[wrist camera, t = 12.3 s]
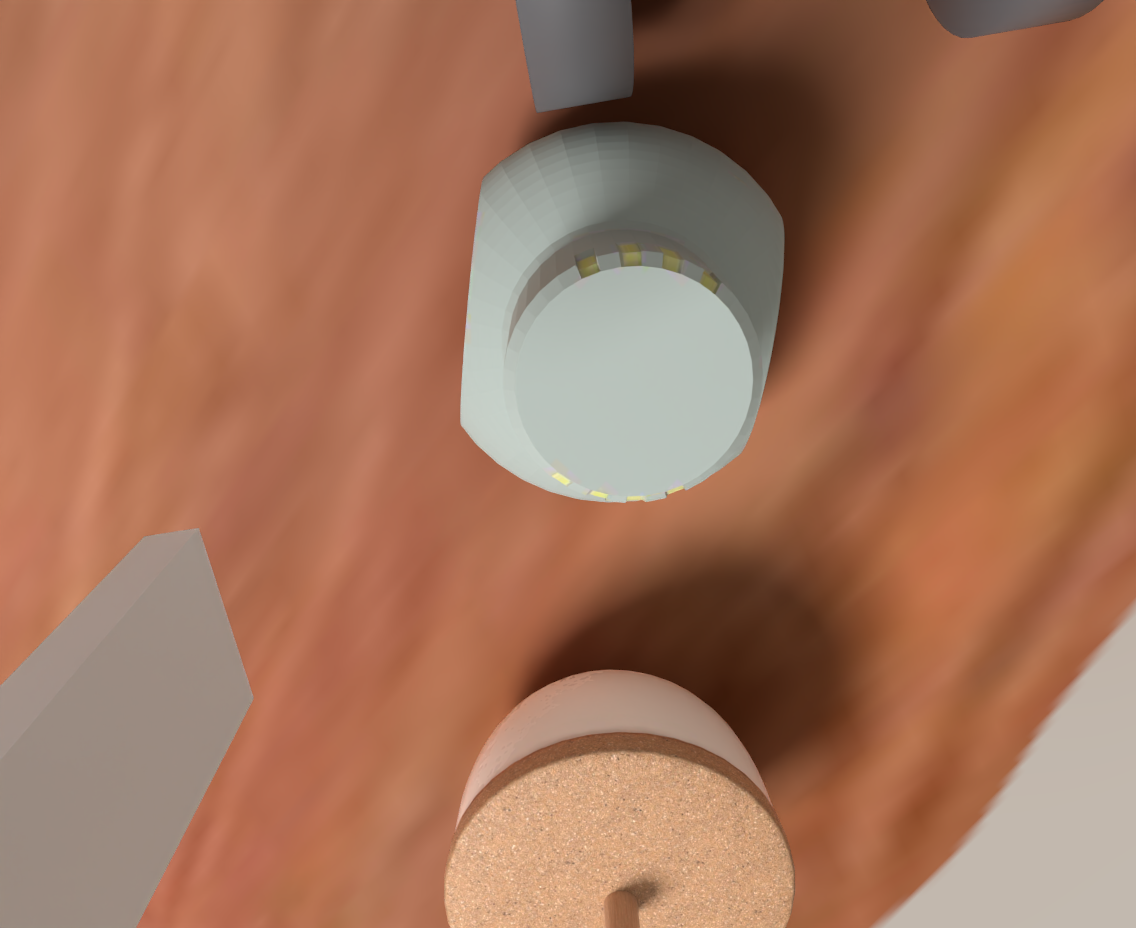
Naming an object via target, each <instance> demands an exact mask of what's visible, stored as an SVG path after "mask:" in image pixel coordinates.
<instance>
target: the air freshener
mask: <svg viewBox="0 0 1136 928" xmlns="http://www.w3.org/2000/svg"><path fill="white" fill-rule="evenodd" d="M783 266H784V225H783V220H782V217H781V215H780V213H779V212H778V210H777V209H776V207H775V205H774V204H773V202H772V201H771V199H770V197H769V196H768V195H767V193H766V192H765V191H764V190H763V189H762V188H761V187H760V186H759V185H758V184H757V182H756V181H755V180H754V179H753V178H752V177H751V176H750V175H749V174H748V172H747V171H746V170H744V169H743V168H742V167H740V166H739V165H738V164H736V163H735V162H734V161H733V160H731V159H730V158H729V157H727V156H726V155H725V154H724V153H722V152H721V151H719V150H717V149H716V148H714V147H712V146H710V145H708V144H706V143H704V142H702V141H700V140H698V139H696V138H694V137H693V136H690V135H687V134H684V133H681V132H677V131H674V130H671V129H668V128H665V127H662V126H657V125H649V124H641V123H633V122H606V123H591V124H586V125H582V126H578V127H573V128H569V129H564V130H560V131H557V132H555V133H553V134H550V135H548V136H546V137H543V138H541V139H538V140H536V141H534V142H531V143H529V144H527V145H526V146H524V147H523V148H521V149H520V150H518V151H516V152H515V153H513V154H512V155H510V156H509V157H507V158H505V159H504V160H502V161H501V162H500V163H499V164H498V165H497V166H495V167H494V168H493V169H492V170H491V171H490V172H489V173H488V174H487V175H486V176H484V178H483V181H482V186H481V191H480V198H479V205H478V213H477V221H476V229H475V238H474V247H473V256H472V265H471V276H470V286H469V296H468V308H467V319H466V331H465V343H464V357H463V371H462V388H461V426H462V427H463V428H464V429H465V431H466V432H467V433H468V434H469V436H470V437H471V438H472V439H473V441H474V442H475V443H476V444H477V445H478V446H479V447H480V448H481V449H482V450H483V451H485V452H486V453H487V454H488V455H489V456H490V457H491V458H492V459H493V460H495V461H496V462H497V463H498V464H499V465H501V466H502V467H504V468H505V469H507V470H509V471H510V472H512V473H513V474H515V475H516V476H518V477H519V478H521V479H522V480H525V481H527V482H529V483H531V484H534V485H536V486H538V487H540V488H543V489H545V490H547V491H550V492H553V493H557V494H561V495H564V496H568V497H572V498H576V499H581V500H590V501H600V502H622V503H626V501H639V500H644V501H646V502H648V501H653V500H658V499H663V498H666V497H667V494H670V493H673V492H675V491H678V490H681V489H685V490H688V489H690V488H691V487H693V486H695V485H697V484H699V483H700V482H702V481H704V480H705V479H707V478H708V477H709V476H710V475H712V474H713V473H715V472H717V471H719V470H720V469H721V468H723V467H724V466H725V465H727V464H728V463H729V462H730V461H732V460H733V459H734V458H736V457H737V456H738V455H739V454H741V452H742V451H743V449H744V447H745V445H746V443H747V441H748V439H749V436H750V434H751V431H752V429H753V426H754V423H755V419H756V416H757V413H758V409H759V406H760V402H761V398H762V394H763V390H764V386H765V382H766V378H767V373H768V368H769V364H770V359H771V354H772V348H773V343H774V337H775V332H776V325H777V319H778V312H779V305H780V297H781V288H782V278H783Z"/></svg>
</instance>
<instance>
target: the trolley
mask: <svg viewBox="0 0 1136 928" xmlns="http://www.w3.org/2000/svg"><path fill="white" fill-rule="evenodd" d="M926 1H927V3H928V5H929V7H930V9H931V11H932V13H933V14H934V16H935V17H936V19H937V20H938V21H939V23H940V24H941V25H942V26H943V27H944V28H945V29H946V30H947V31H949V32H950V33H952V34H953V35H956V36H958V37H961V38H973V37H978V36H984V35H990V34H996V33H1001V32H1007V31H1013V30H1019V29H1025V28H1030V27H1036V26H1042V25H1048V24H1053V23H1059V22H1065V21H1070V20H1073V19H1076V18H1079V17H1081V16H1083V15H1085V14H1086V13H1088V12H1090V11H1091V10H1093V9H1094V8H1095V7H1097V6H1098V5H1099V4H1100V3H1101V2H1102V1H1103V0H926ZM516 5H517V11H518V17H519V23H520V28H521V34H522V40H523V45H524V51H525V56H526V62H527V67H528V73H529V78H530V83H531V88H532V94H533V99H534V103H535V108H536V112H537V113H539V112H545V111H551V110H557V109H563V108H568V107H574V106H580V105H586V104H591V103H597V102H603V101H609V100H615V99H620V98H626V97H631V95H632V92H633V84H634V44H633V23H632V7H631V0H516Z"/></svg>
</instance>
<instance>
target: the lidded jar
mask: <svg viewBox="0 0 1136 928" xmlns="http://www.w3.org/2000/svg"><path fill="white" fill-rule="evenodd" d="M794 895H795V868H794V864H793V859H792V855H791V850H790V846H789V843H788V840H787V837H786V834H785V832H784V829H783V827H782V825H781V823H780V820H779V818H778V816H777V814H776V811H775V809H774V808H773V806H772V803H771V801H770V798H769V796H768V793H767V790H766V788H765V786H764V783H763V781H762V779H761V777H760V774H759V772H758V770H757V768H756V766H755V764H754V762H753V760H752V759H751V757H750V755H749V753H748V752H747V750H746V749H745V747H744V746H743V744H742V743H741V741H740V740H739V738H738V737H737V736H736V734H735V733H734V732H733V730H732V729H731V728H730V726H729V725H728V724H727V723H726V722H725V721H724V720H723V719H722V718H721V717H720V715H719V714H718V713H717V712H716V711H715V710H714V709H713V708H711V707H710V706H709V705H707V704H706V703H705V702H703V701H702V700H701V699H699V698H698V697H696V696H695V695H694V694H692V693H691V692H690V691H688V690H686V689H684V688H682V687H680V686H678V685H677V684H675V683H673V682H671V681H668V680H665V679H662V678H659V677H656V676H653V675H649V674H645V673H639V672H634V671H629V670H598V671H589V672H584V673H580V674H576V675H571V676H569V677H566V678H564V679H561V680H558V681H556V682H553V683H551V684H549V685H547V686H545V687H543V688H541V689H540V690H538V691H536V692H534V693H532V694H531V695H530V696H528V697H527V698H526V699H524V700H523V701H522V702H521V703H519V704H518V705H517V706H516V707H515V708H514V709H513V710H512V711H511V712H510V713H509V714H508V715H507V716H506V717H505V718H504V719H503V720H502V722H501V723H500V724H499V725H498V726H497V727H496V728H495V729H494V731H493V732H492V734H491V735H490V737H489V738H488V740H487V741H486V743H485V744H484V746H483V748H482V750H481V752H480V754H479V756H478V758H477V760H476V762H475V764H474V767H473V769H472V771H471V774H470V776H469V778H468V781H467V784H466V787H465V790H464V793H463V796H462V801H461V805H460V810H459V814H458V819H457V824H456V829H455V833H454V835H453V838H452V841H451V846H450V850H449V855H448V859H447V864H446V870H445V878H444V902H445V908H446V914H447V919H448V923H449V925H450V928H786V925H787V923H788V920H789V917H790V915H791V912H792V906H793V900H794Z"/></svg>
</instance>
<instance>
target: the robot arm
mask: <svg viewBox="0 0 1136 928" xmlns="http://www.w3.org/2000/svg"><path fill="white" fill-rule="evenodd" d="M253 699H254V698H253V695H252V691H251V688H250V685H249V682H248V679H247V676H246V673H245V670H244V667H243V664H242V660H241V657H240V654H239V651H238V648H237V645H236V642H235V639H234V636H233V633H232V630H231V626H230V623H229V620H228V617H227V614H226V611H225V608H224V605H223V602H222V599H221V596H220V592H219V589H218V586H217V583H216V580H215V577H214V574H213V571H212V568H211V565H210V562H209V558H208V555H207V552H206V549H205V546H204V543H203V540H202V537H201V534H200V531H199V528H195V529H189V530H183V531H176V532H170V533H164V534H157V535H151V536H145V537H143V539H142V540H141V541H140V542H139V543H138V544H137V545H136V546H135V547H134V548H133V549H132V550H131V551H130V552H129V553H128V554H127V555H126V556H125V557H124V558H123V559H122V560H121V561H120V562H119V563H118V564H117V565H116V566H115V568H114V569H113V570H112V571H111V572H110V573H109V574H108V575H107V576H106V577H105V578H104V579H103V580H102V581H101V582H100V583H99V584H98V585H97V586H96V587H95V588H94V589H93V590H92V591H91V592H90V593H89V594H88V596H87V597H86V598H85V599H84V600H83V601H82V602H81V603H80V604H79V605H78V606H77V607H76V608H75V609H74V610H73V611H72V612H71V613H70V614H69V615H68V616H67V617H66V618H65V619H64V620H63V621H62V622H61V623H60V625H59V626H58V627H57V628H56V629H55V630H54V631H53V632H52V633H51V634H50V635H49V636H48V637H47V638H46V639H45V640H44V641H43V642H42V643H41V644H40V645H39V646H38V647H37V648H36V649H35V650H34V651H33V652H32V654H31V655H30V656H29V657H28V658H27V659H26V660H25V661H24V662H23V663H22V664H21V665H20V666H19V667H18V668H17V669H16V670H15V671H14V672H13V673H12V674H11V675H10V676H9V677H8V678H7V679H6V680H5V682H4V683H3V684H2V685H1V686H0V928H136V927H137V925H138V923H139V921H140V919H141V917H142V915H143V913H144V911H145V909H146V907H147V905H148V903H149V901H150V899H151V898H152V896H153V894H154V892H155V890H156V888H157V886H158V884H159V882H160V880H161V878H162V876H163V874H164V872H165V870H166V868H167V866H168V864H169V862H170V860H171V859H172V857H173V855H174V853H175V851H176V849H177V847H178V845H179V843H180V841H181V839H182V837H183V835H184V833H185V831H186V829H187V827H188V825H189V823H190V821H191V820H192V818H193V816H194V814H195V812H196V810H197V808H198V806H199V804H200V802H201V800H202V798H203V796H204V794H205V792H206V790H207V788H208V786H209V784H210V782H211V781H212V779H213V777H214V775H215V773H216V771H217V769H218V767H219V765H220V763H221V761H222V759H223V757H224V755H225V753H226V751H227V749H228V747H229V745H230V743H231V742H232V740H233V738H234V736H235V734H236V732H237V730H238V728H239V726H240V724H241V722H242V720H243V718H244V716H245V714H246V712H247V710H248V708H249V706H250V704H251V703H252V701H253Z"/></svg>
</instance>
